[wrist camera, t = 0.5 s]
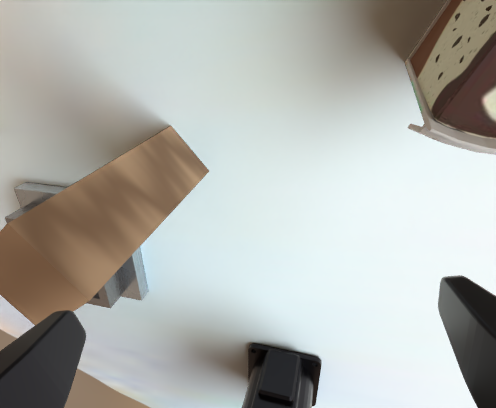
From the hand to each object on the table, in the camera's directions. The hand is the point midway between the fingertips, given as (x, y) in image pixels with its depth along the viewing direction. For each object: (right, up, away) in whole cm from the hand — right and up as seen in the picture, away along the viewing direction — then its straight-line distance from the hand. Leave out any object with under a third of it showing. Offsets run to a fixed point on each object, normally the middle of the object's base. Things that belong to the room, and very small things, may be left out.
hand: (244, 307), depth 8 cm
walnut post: (-5, +5, +16) cm, 18 cm away
